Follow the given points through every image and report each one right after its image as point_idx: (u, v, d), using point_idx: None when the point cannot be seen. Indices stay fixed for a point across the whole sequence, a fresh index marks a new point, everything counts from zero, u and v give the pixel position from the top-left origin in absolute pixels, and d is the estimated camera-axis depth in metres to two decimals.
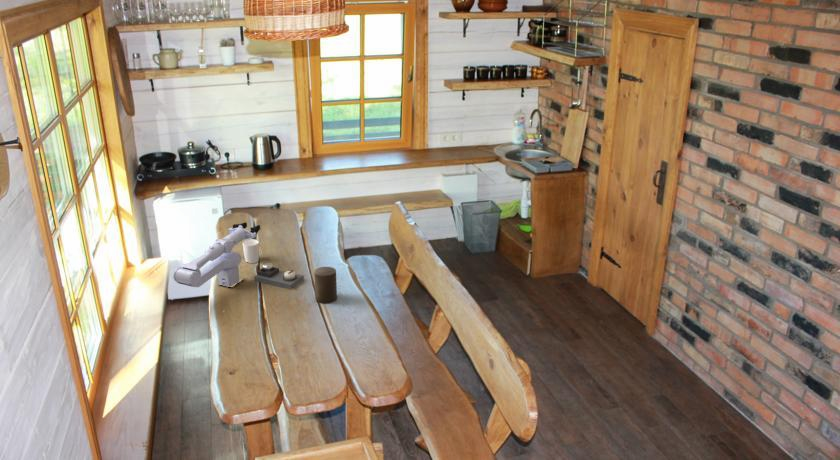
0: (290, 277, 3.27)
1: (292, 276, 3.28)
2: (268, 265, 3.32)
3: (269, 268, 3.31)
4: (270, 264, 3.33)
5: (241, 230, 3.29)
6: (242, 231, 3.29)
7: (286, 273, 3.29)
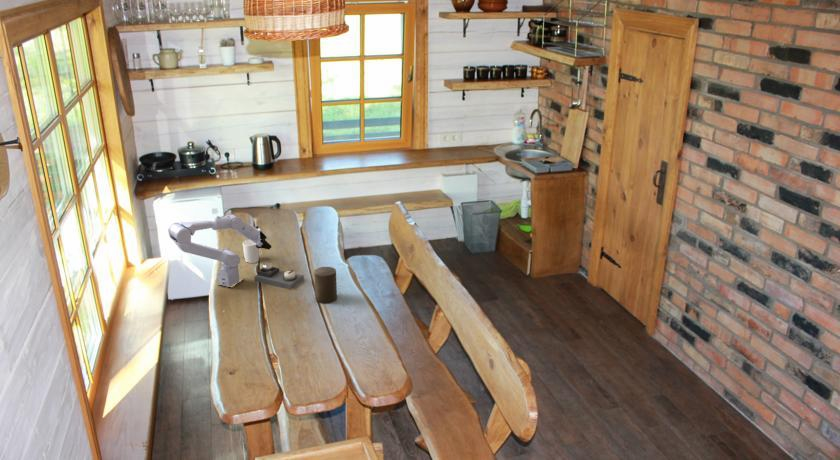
0: (290, 277, 3.27)
1: (292, 276, 3.28)
2: (268, 265, 3.32)
3: (269, 268, 3.31)
4: (270, 264, 3.33)
5: (256, 231, 3.29)
6: (256, 233, 3.29)
7: (286, 273, 3.29)
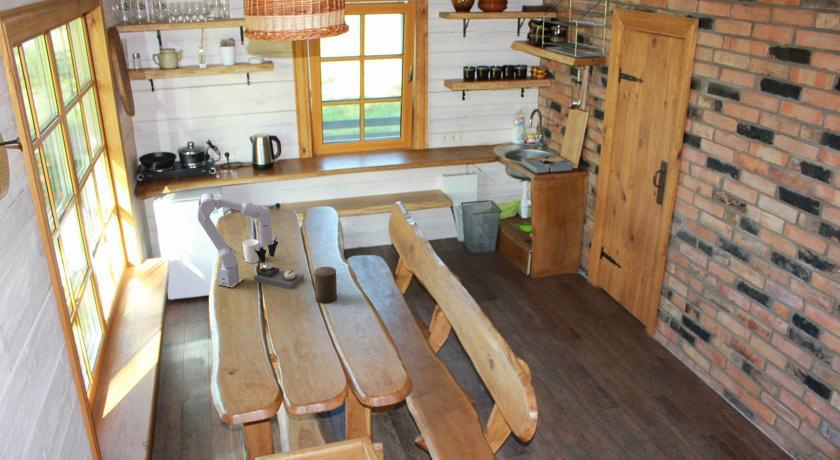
0: (290, 277, 3.27)
1: (292, 276, 3.28)
2: (268, 265, 3.32)
3: (269, 268, 3.31)
4: (270, 264, 3.33)
5: (268, 240, 3.26)
6: (267, 241, 3.25)
7: (286, 273, 3.29)
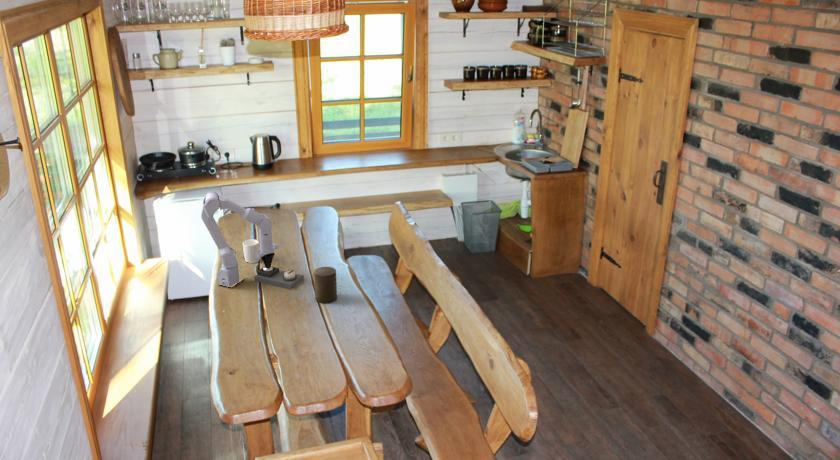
0: (290, 277, 3.27)
1: (292, 276, 3.28)
2: (268, 268, 3.33)
3: (269, 271, 3.32)
4: (270, 267, 3.34)
5: (269, 249, 3.27)
6: (267, 249, 3.27)
7: (286, 273, 3.29)
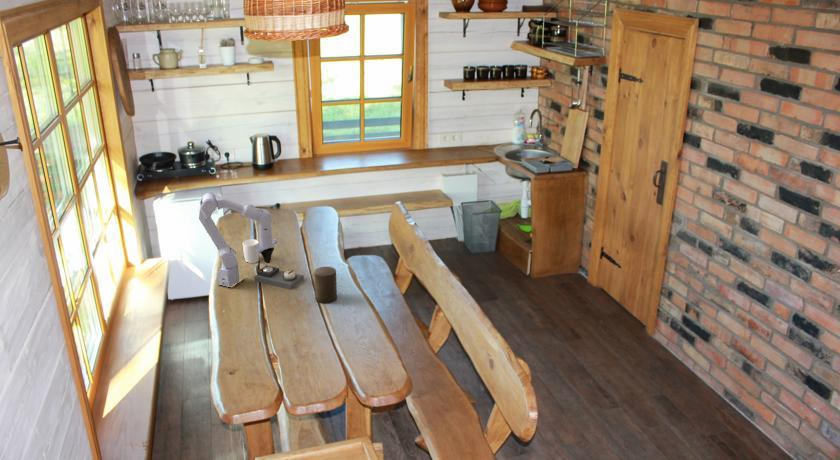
0: (290, 277, 3.27)
1: (292, 276, 3.28)
2: (268, 269, 3.33)
3: (269, 272, 3.32)
4: (270, 268, 3.34)
5: (268, 244, 3.26)
6: (267, 244, 3.26)
7: (286, 273, 3.29)
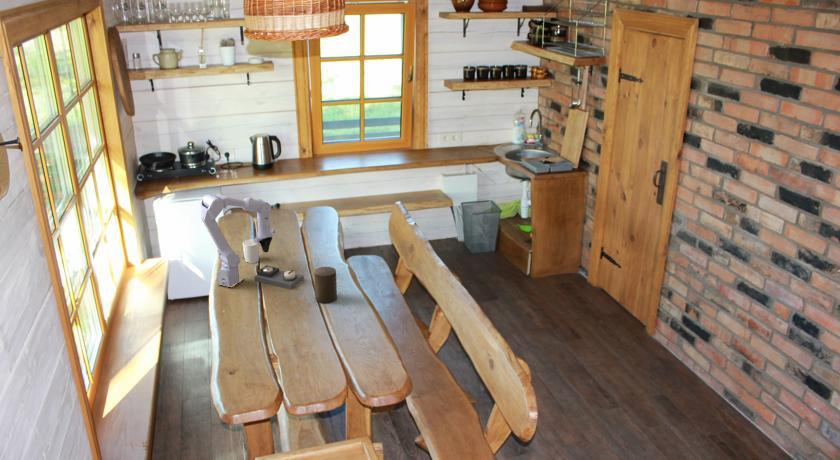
0: (290, 277, 3.27)
1: (292, 276, 3.28)
2: (268, 269, 3.33)
3: (269, 272, 3.32)
4: (270, 268, 3.34)
5: (267, 233, 3.32)
6: (265, 233, 3.32)
7: (286, 273, 3.29)
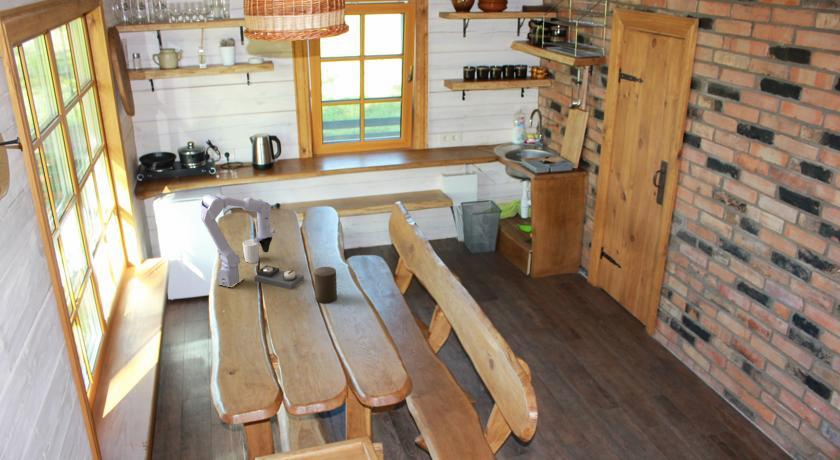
0: (290, 277, 3.27)
1: (292, 276, 3.28)
2: (268, 269, 3.33)
3: (269, 272, 3.32)
4: (270, 268, 3.34)
5: (267, 233, 3.32)
6: (265, 233, 3.32)
7: (286, 273, 3.29)
